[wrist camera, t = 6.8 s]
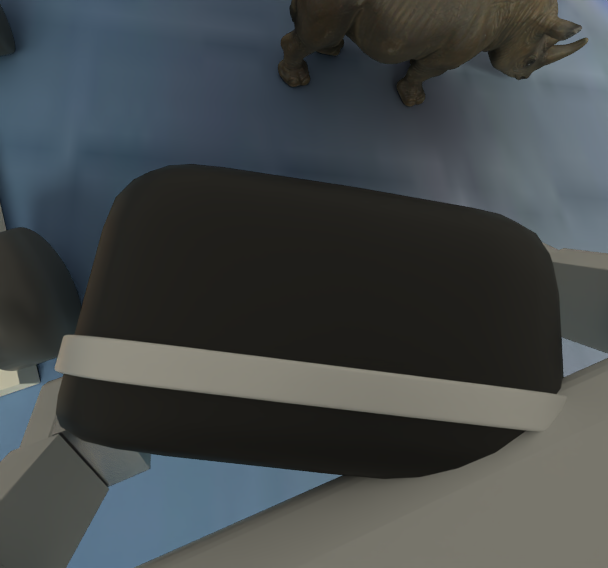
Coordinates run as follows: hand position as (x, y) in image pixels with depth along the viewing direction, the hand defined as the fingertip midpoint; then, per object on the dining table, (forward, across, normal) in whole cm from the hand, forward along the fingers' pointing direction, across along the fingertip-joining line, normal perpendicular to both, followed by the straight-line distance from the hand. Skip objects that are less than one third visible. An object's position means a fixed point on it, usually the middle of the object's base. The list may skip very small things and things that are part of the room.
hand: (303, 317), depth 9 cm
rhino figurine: (+12, -10, -3) cm, 16 cm away
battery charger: (+4, 0, +5) cm, 7 cm away
